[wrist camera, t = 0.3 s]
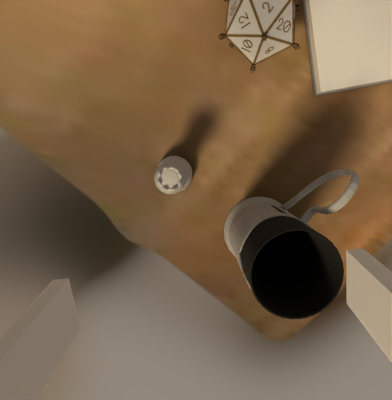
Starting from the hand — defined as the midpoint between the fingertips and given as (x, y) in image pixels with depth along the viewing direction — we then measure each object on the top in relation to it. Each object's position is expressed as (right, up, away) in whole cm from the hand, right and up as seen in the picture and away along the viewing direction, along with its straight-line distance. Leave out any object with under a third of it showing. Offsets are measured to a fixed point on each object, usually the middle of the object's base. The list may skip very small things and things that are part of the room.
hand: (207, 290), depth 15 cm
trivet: (+18, +23, +22) cm, 37 cm away
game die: (+6, +23, +22) cm, 33 cm away
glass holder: (+9, +3, +25) cm, 27 cm away
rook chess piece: (-3, +7, +24) cm, 26 cm away
